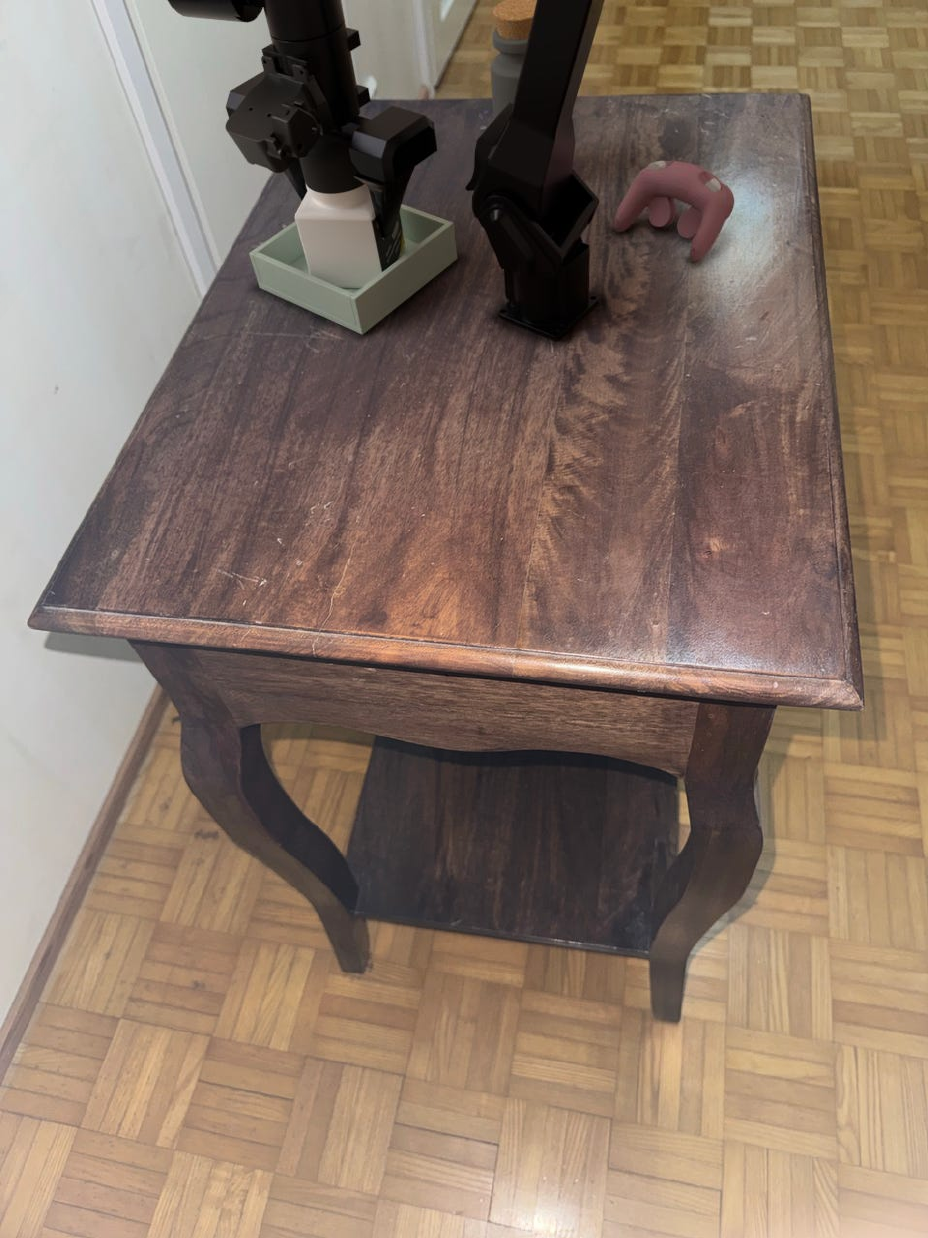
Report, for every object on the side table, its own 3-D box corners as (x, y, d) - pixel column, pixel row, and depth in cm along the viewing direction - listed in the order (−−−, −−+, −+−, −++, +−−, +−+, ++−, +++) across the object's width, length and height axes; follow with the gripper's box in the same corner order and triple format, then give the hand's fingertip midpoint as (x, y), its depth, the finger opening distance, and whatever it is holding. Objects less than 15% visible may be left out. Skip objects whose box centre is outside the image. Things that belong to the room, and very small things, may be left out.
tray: (457, 258, 84) (453, 222, 81) (362, 334, 79) (354, 299, 76) (355, 219, 90) (347, 183, 87) (259, 287, 84) (248, 252, 82)
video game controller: (719, 263, 82) (749, 181, 79) (696, 265, 79) (726, 179, 75) (631, 229, 87) (656, 149, 83) (605, 229, 84) (630, 146, 80)
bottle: (567, 174, 91) (566, 5, 79) (520, 196, 89) (512, 27, 77) (532, 153, 94) (526, -13, 82) (486, 174, 92) (473, 8, 80)
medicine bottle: (387, 291, 81) (361, 158, 71) (312, 288, 83) (276, 158, 73) (406, 244, 85) (384, 113, 75) (334, 242, 86) (303, 113, 77)
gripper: (145, 45, 68) (212, 236, 81) (320, 98, 60) (364, 302, 73) (252, -12, 73) (299, 178, 85) (428, 31, 65) (451, 233, 77)
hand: (348, 221), depth 80 cm, fingers closed on medicine bottle, 9 cm apart
